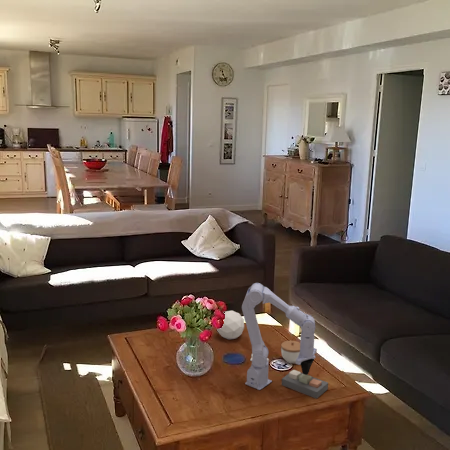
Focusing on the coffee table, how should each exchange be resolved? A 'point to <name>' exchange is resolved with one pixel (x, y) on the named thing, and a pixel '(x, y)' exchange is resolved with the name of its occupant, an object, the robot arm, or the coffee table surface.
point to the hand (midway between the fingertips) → (305, 373)
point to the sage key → (305, 378)
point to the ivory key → (294, 374)
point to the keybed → (305, 386)
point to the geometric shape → (232, 325)
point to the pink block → (315, 383)
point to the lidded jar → (290, 350)
